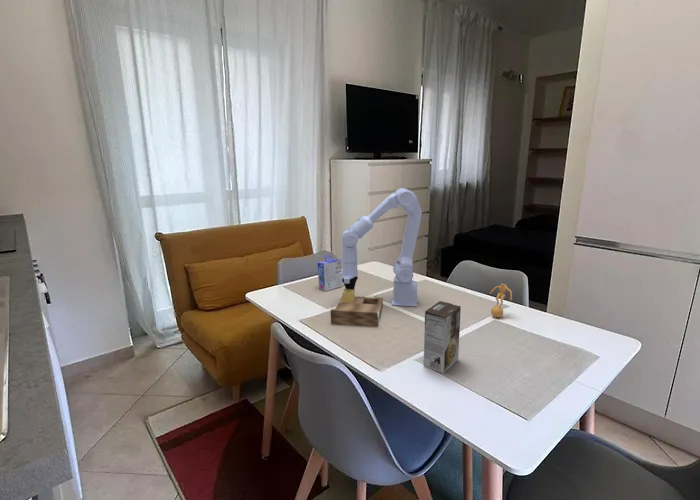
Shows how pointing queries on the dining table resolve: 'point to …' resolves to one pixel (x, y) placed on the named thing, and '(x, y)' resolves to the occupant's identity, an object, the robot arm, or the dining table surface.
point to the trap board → (358, 312)
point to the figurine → (497, 310)
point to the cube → (348, 295)
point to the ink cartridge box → (330, 273)
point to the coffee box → (441, 336)
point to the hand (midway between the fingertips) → (350, 295)
